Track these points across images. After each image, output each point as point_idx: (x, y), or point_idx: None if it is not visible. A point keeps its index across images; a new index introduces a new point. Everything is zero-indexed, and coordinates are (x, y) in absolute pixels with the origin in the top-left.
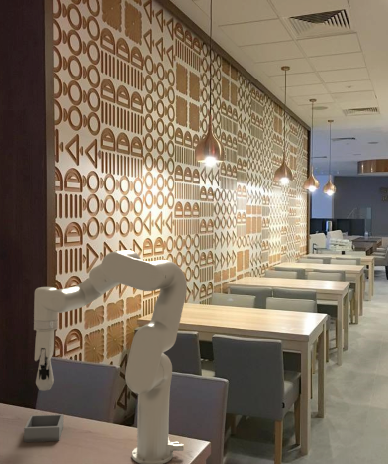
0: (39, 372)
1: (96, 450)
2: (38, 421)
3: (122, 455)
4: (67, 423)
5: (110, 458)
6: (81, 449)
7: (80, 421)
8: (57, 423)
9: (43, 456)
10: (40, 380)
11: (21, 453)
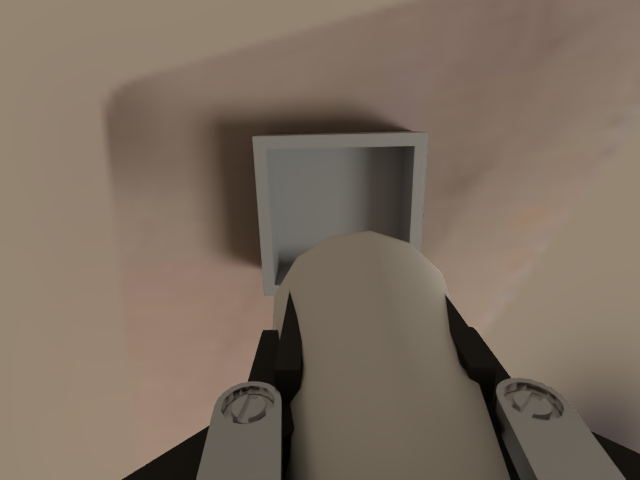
0: (281, 345)
1: (195, 395)
2: (407, 173)
3: None
4: None
5: (142, 433)
6: (201, 351)
7: None
8: None
9: (138, 236)
10: (281, 307)
11: (157, 147)
